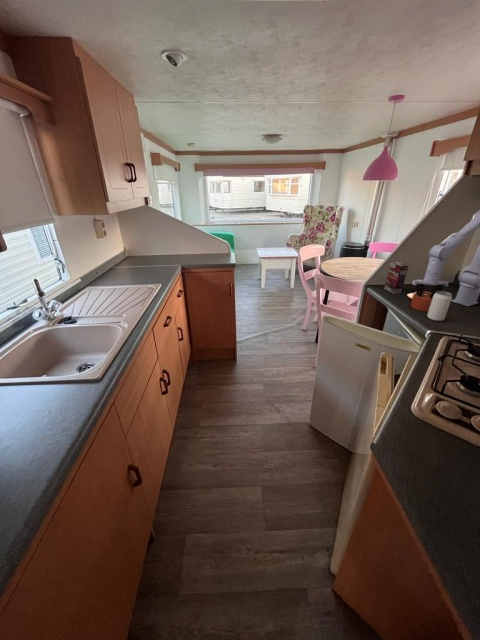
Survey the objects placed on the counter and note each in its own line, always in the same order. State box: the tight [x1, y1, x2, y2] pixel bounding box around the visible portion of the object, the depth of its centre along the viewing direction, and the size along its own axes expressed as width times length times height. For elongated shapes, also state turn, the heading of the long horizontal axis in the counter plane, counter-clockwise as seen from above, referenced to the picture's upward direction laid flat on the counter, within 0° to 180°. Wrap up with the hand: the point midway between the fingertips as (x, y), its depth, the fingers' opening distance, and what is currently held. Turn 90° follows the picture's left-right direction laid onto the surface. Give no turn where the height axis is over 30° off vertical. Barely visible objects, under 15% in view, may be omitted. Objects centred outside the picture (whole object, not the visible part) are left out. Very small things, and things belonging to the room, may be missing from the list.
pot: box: [410, 291, 432, 313], centre depth 129 cm, size 10×10×6 cm
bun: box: [422, 294, 431, 299], centre depth 128 cm, size 5×5×4 cm
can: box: [426, 290, 453, 322], centre depth 116 cm, size 6×6×12 cm
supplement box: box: [383, 261, 409, 295], centre depth 147 cm, size 9×5×16 cm, turn 10°
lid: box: [407, 292, 415, 300], centre depth 139 cm, size 11×11×5 cm
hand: (425, 299), depth 128 cm, fingers closed on bun, 5 cm apart
